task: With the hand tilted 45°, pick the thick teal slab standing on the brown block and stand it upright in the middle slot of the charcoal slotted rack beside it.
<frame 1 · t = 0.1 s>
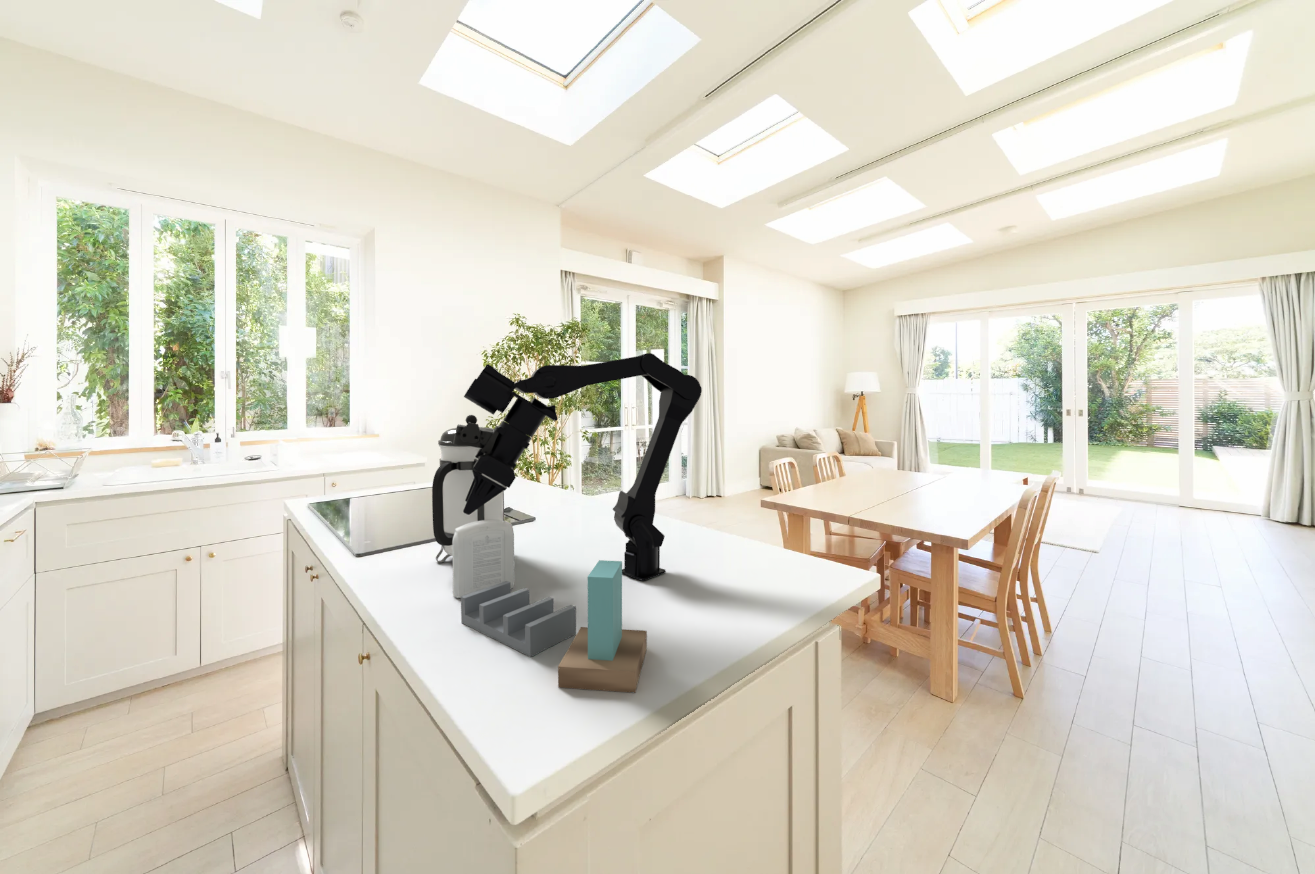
hand: (466, 507, 83), 15 cm above the counter, tool tilted 35°, fingers open, 9 cm apart
coffee press: (472, 559, 103), on the counter
brown block: (605, 666, 61), on the counter
rack: (517, 628, 71), on the counter
thick teal slab: (605, 647, 61), point 2 cm above the counter, touching brown block
grey rounded slab: (484, 592, 85), on the counter
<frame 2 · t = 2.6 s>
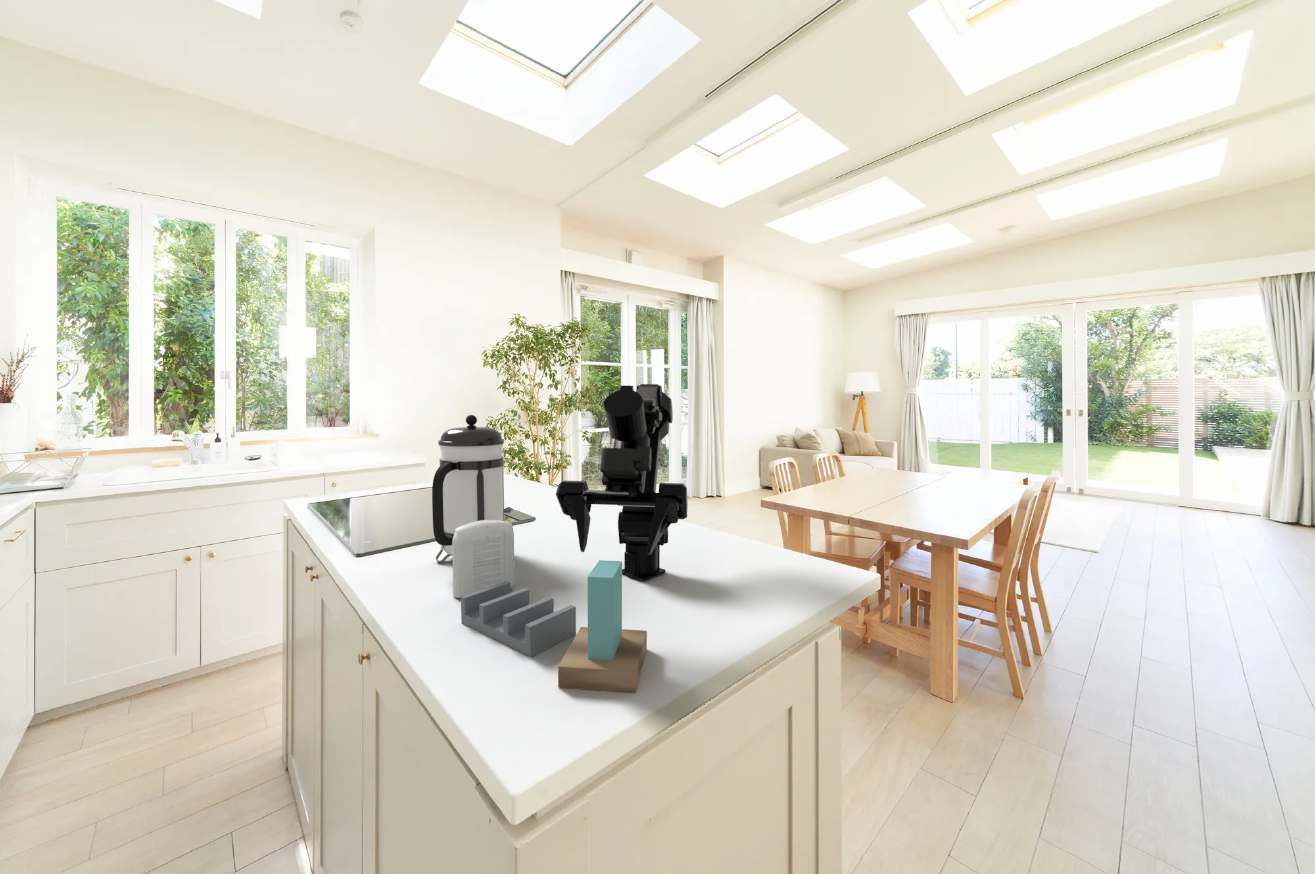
hand: (615, 551, 66), 13 cm above the counter, tool tilted 45°, fingers open, 9 cm apart
nothing on the counter moved.
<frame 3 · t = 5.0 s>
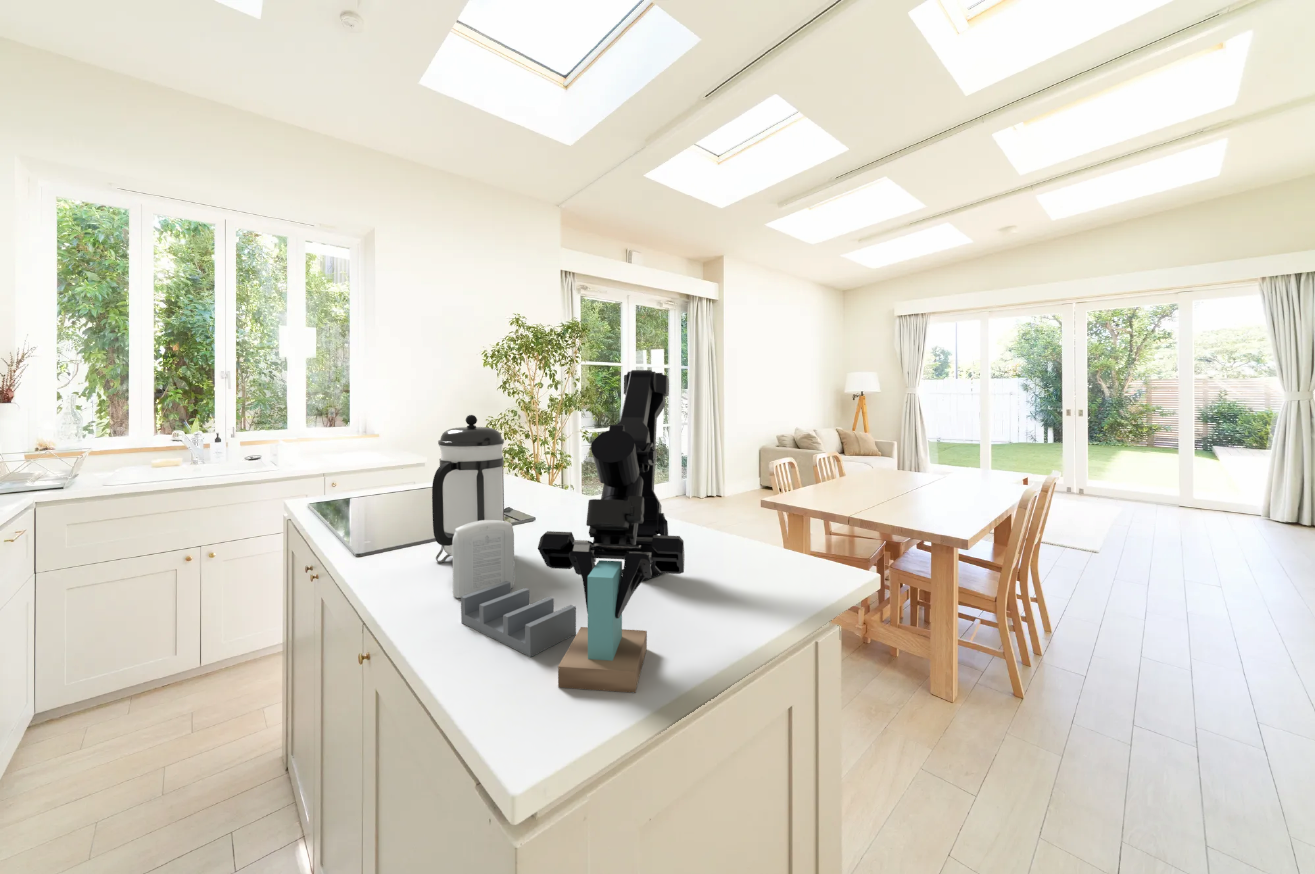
hand: (603, 616, 59), 7 cm above the counter, tool tilted 45°, fingers closed on thick teal slab, 3 cm apart
thick teal slab: (605, 647, 61), point 2 cm above the counter, touching brown block, gripper
everything else where it was.
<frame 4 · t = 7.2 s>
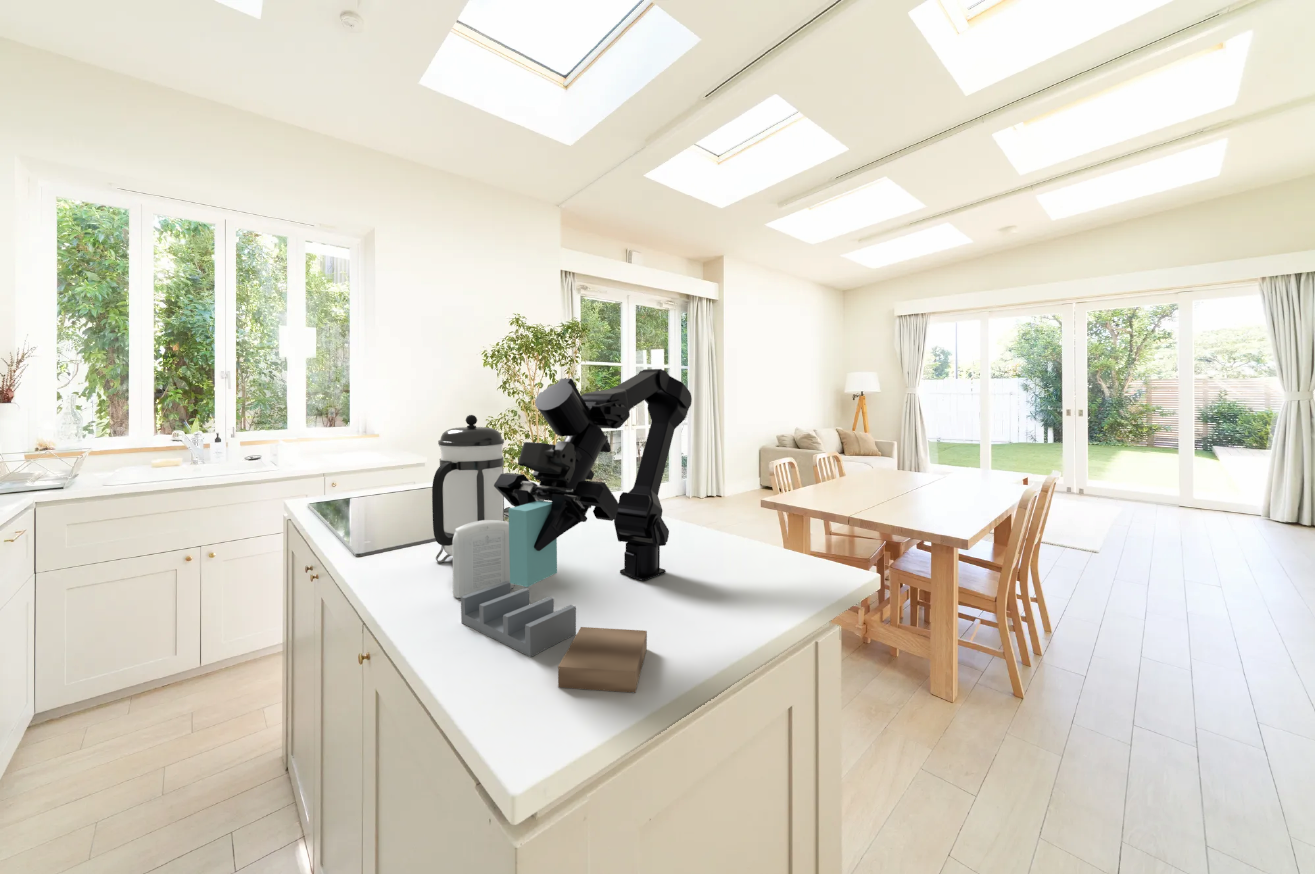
hand: (526, 547, 65), 13 cm above the counter, tool tilted 45°, fingers closed on thick teal slab, 3 cm apart
thick teal slab: (534, 577, 67), point 9 cm above the counter, touching gripper
everything else where it was.
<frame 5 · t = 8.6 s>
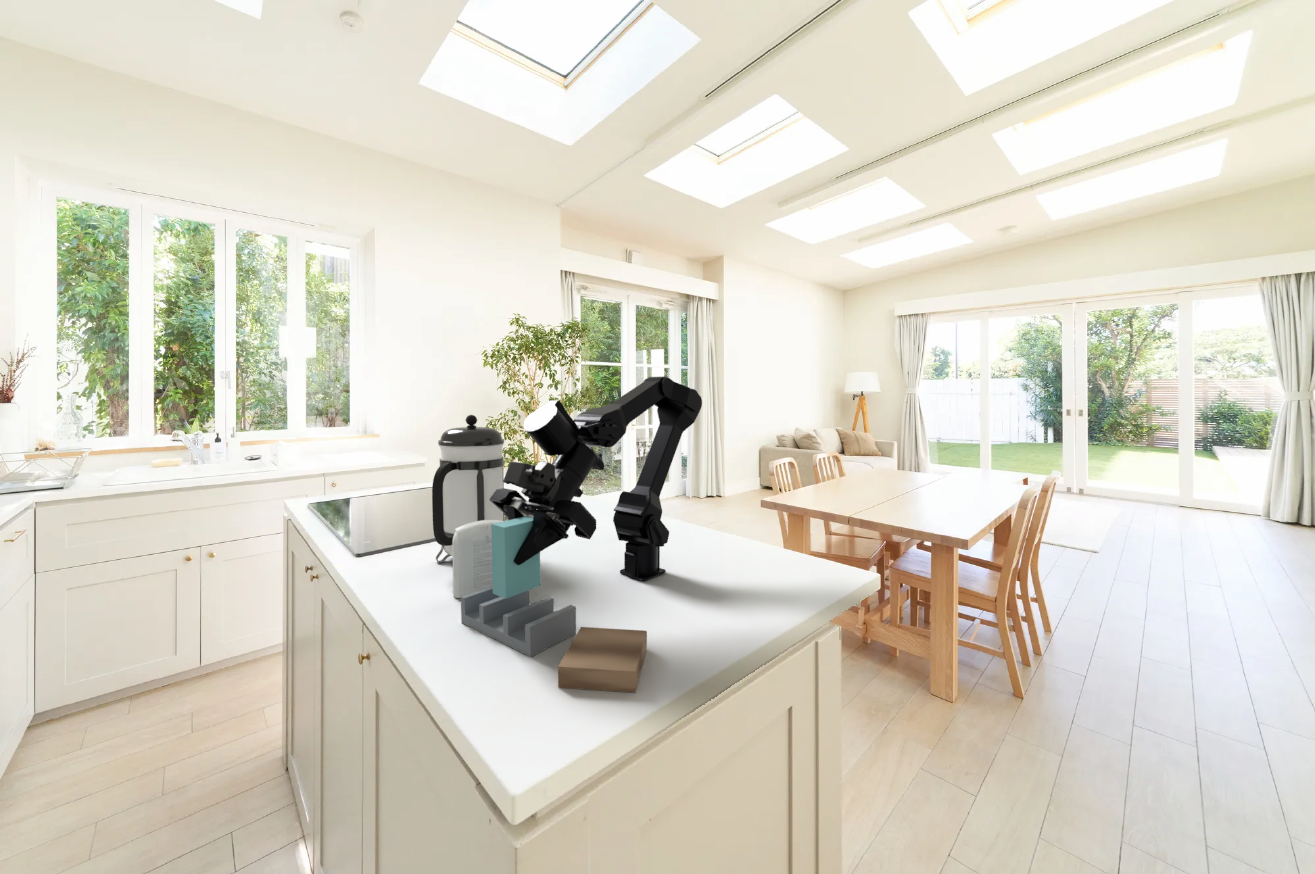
hand: (508, 561, 70), 10 cm above the counter, tool tilted 45°, fingers closed on thick teal slab, 3 cm apart
thick teal slab: (517, 589, 71), point 6 cm above the counter, touching gripper
everything else where it was.
when the fingers open (7 cm above the counter, at t = 9.5 s): thick teal slab stays where it is, resting on rack.
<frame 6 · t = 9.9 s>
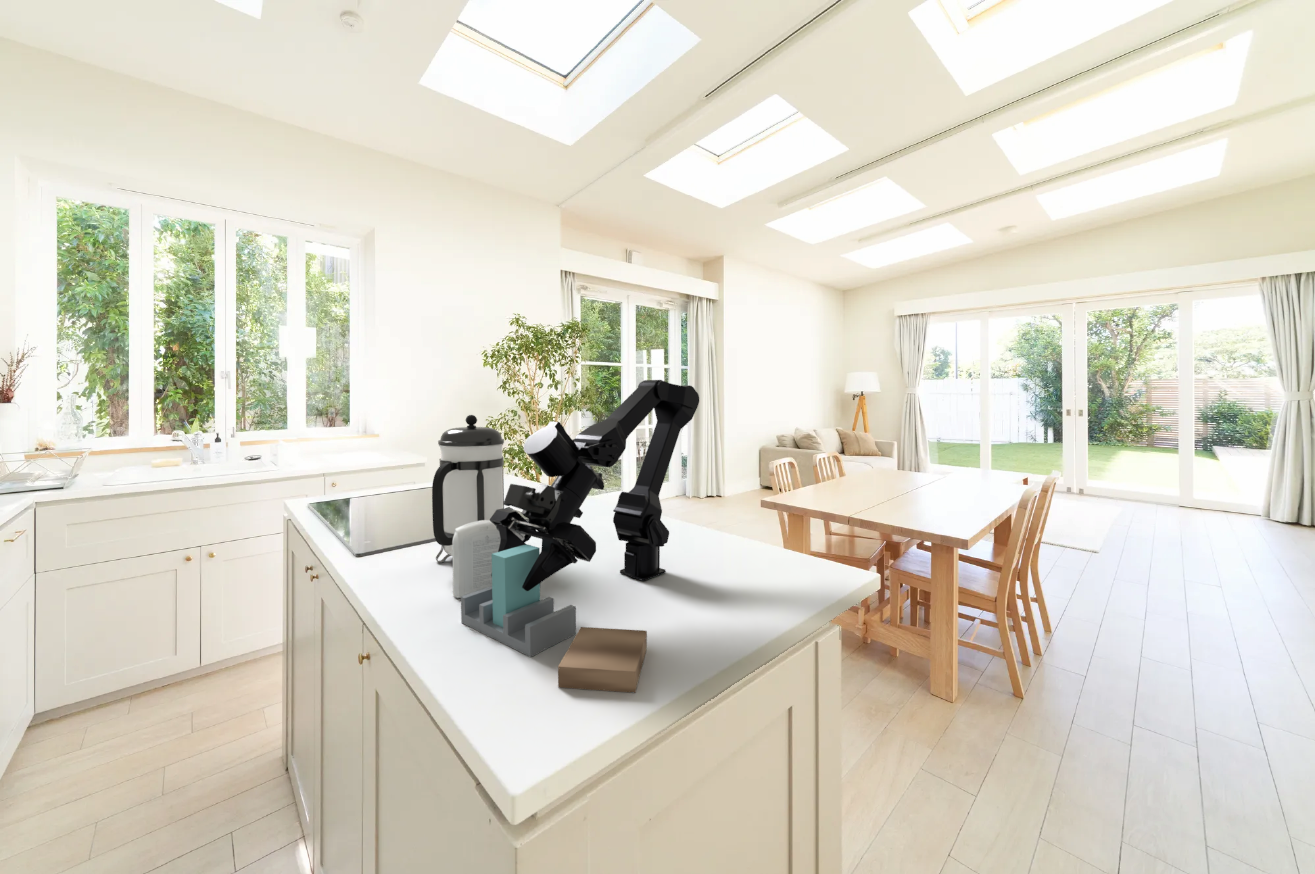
hand: (508, 583, 70), 7 cm above the counter, tool tilted 45°, fingers open, 7 cm apart
thick teal slab: (517, 618, 71), point 1 cm above the counter, touching rack
everything else where it was.
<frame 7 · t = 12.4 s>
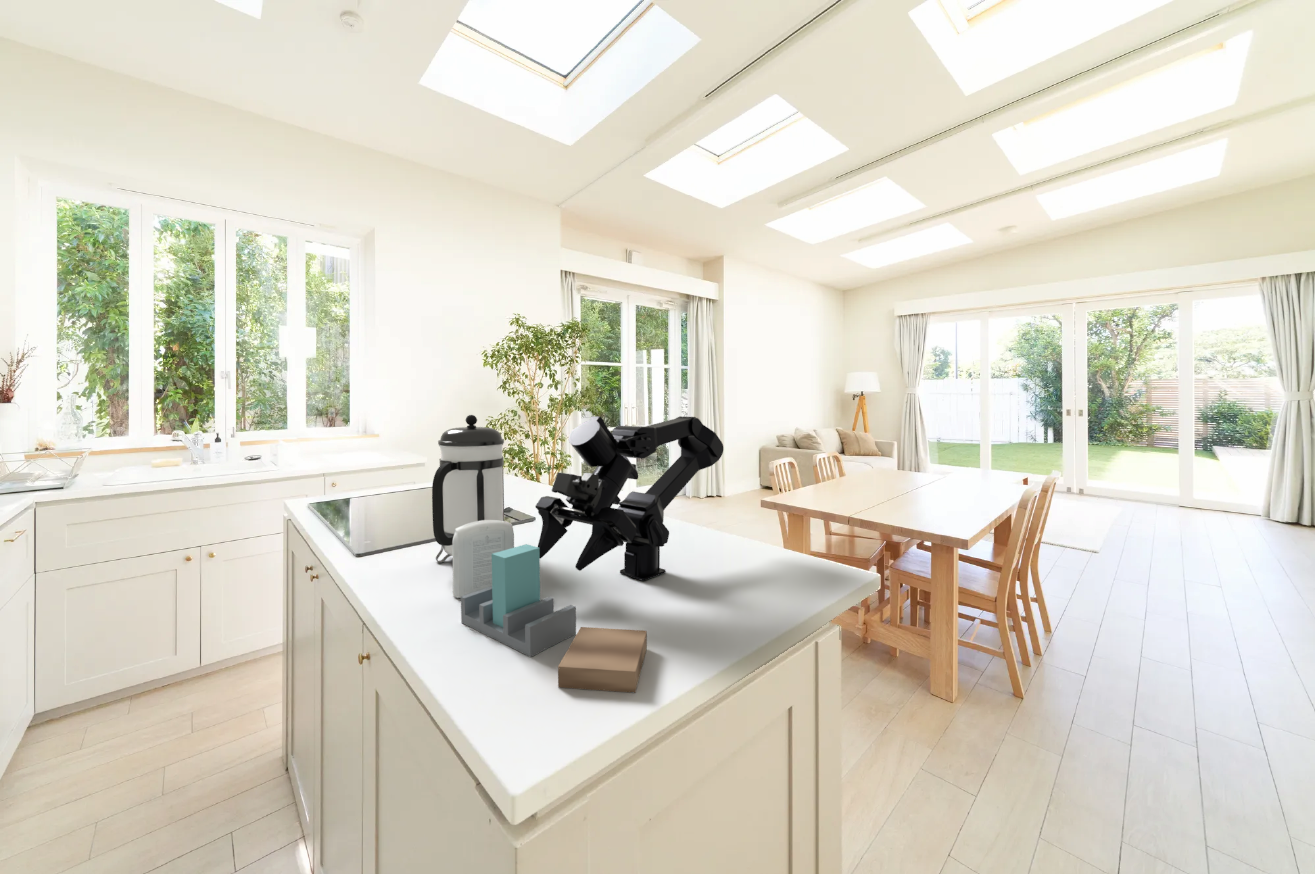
hand: (556, 562, 77), 8 cm above the counter, tool tilted 45°, fingers open, 9 cm apart
nothing on the counter moved.
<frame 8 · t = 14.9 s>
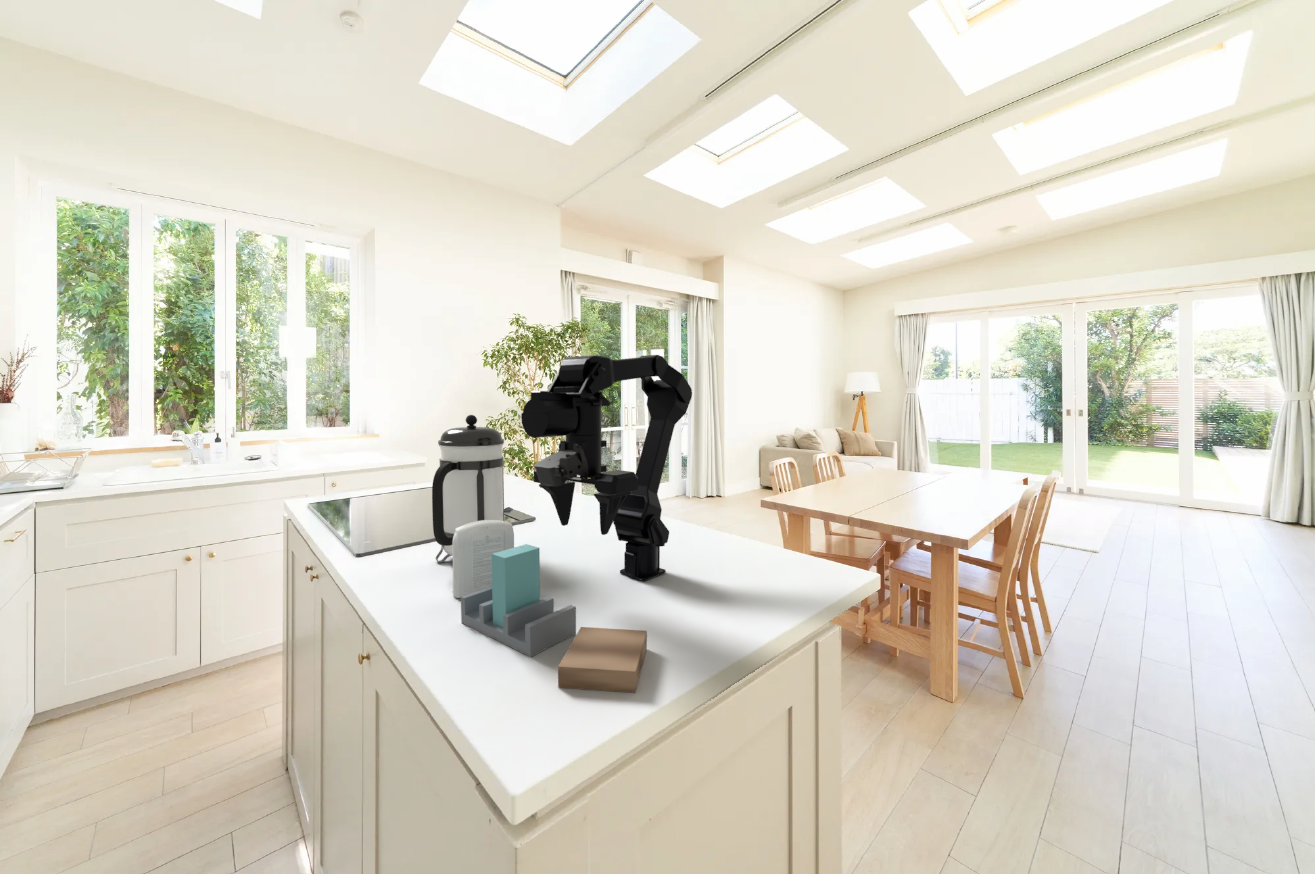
hand: (583, 529, 80), 12 cm above the counter, tool pointing down, fingers open, 9 cm apart
nothing on the counter moved.
at the end: thick teal slab 0.1 cm off-centre on the rack, point 1.5 cm above the rack's base; thick teal slab tilted 0°; the gripper is holding nothing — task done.
